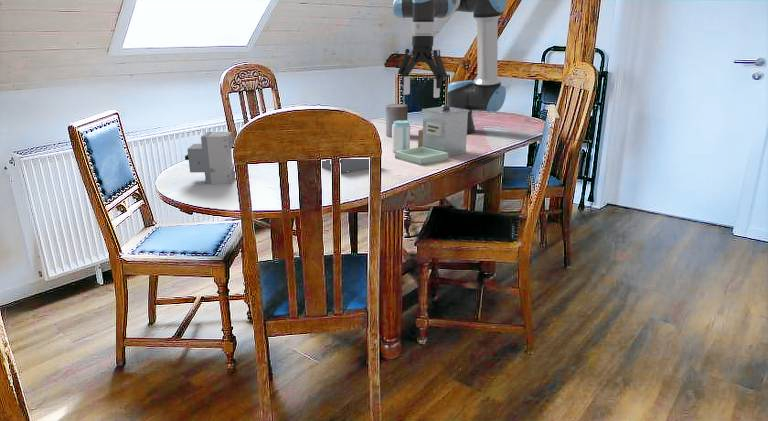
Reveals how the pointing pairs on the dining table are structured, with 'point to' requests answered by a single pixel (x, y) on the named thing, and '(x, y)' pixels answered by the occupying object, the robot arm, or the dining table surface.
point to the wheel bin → (348, 164)
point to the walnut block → (420, 138)
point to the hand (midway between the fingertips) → (421, 96)
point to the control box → (445, 129)
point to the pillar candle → (394, 115)
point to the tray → (421, 155)
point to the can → (400, 135)
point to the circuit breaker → (213, 157)
